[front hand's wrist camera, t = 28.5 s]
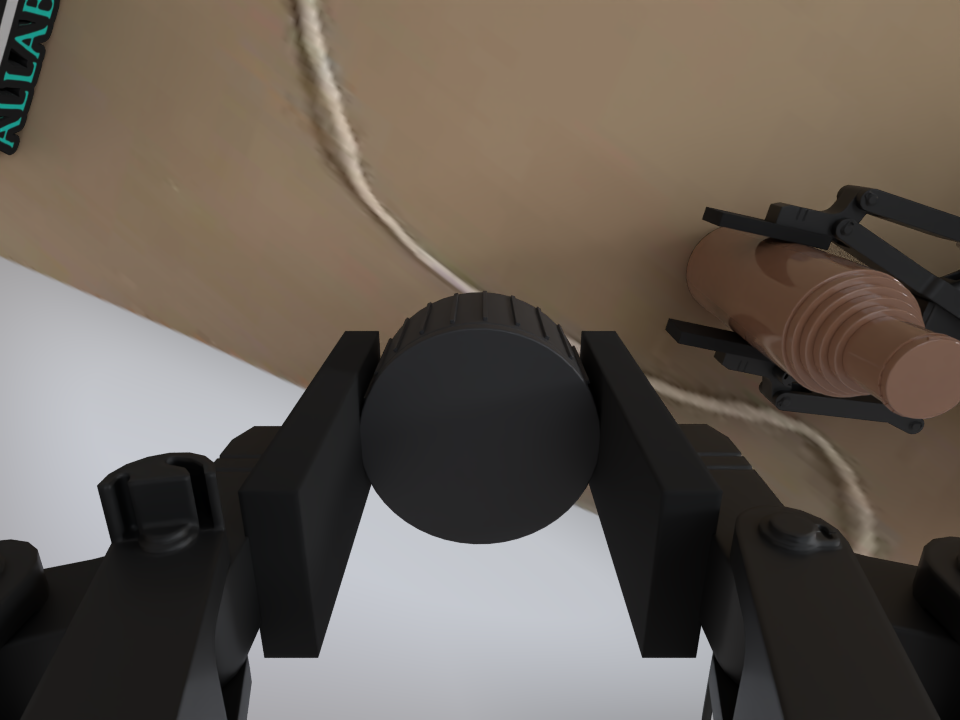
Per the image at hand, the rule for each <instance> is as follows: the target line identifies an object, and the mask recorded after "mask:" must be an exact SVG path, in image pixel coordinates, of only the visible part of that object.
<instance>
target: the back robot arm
mask: <svg viewBox="0 0 960 720" xmlns="http://www.w3.org/2000/svg"><path fill="white" fill-rule="evenodd" d="M866 214H869V215H872V216H875V217H878V218H881V219H884V220H887V221H890V222H893V223H896V224H899V225H902V226H905V227H908V228H911V229H914V230H917V231H920V232H923V233H926V234H929V235H932V236H935V237H939V238H943V239H947V240H951V241H955V242H957V244H956V245H957V247H958V248H960V217H958V216H955V215H952V214H949V213H946V212H943V211H940V210H937V209H934V208H931V207H928V206H925V205H922V204H919V203H916V202H913V201H911V200H908V199H905V198H902V197H899V196H896V195H893V194H890V193H887V192H884V191H881V190H878V189H872V188H867V187H860V186H852V185H847V186H844V187H842V188H841V189H840V190H839V192H838V194H837V200H836V202H835V203H834V204H833V205H832V206H831V207H830V208H829V209H827V210H824V211H816V210H811V209H807V208H802V207H798V206H794V205H789V204H785V203H774V204H771V205H770V207H769V210H768V213H767V216H766V218H765V220H763V219H759V218H754V217H750V216H745V215H741V214H736V213H732V212H727V211H723V210H718V209H714V208H709V207H706V209H705V212H704V215H703V218H702V219H703V220H705V221H708V222H710V223H712V224H715V225H717V226H721V227H726V228H730V229H735V230H739V231H744V232H748V233H753V234H757V235H762V236H766V237H771V238H775V239H780V240H784V241H789V242H793V243H798V244H802V245H807V246H811V247H816V248H820V249H825V250H828V248H829V245H830V243H831V242H833V243H834V244H836V245H837V246H839V247H840V248H842V249H843V250H845V251H846V252H848V253H849V254H851V255H852V256H854V257H855V258H857V259H858V260H860V261H861V262H863V263H864V264H866V265H867V266H868V267H870V268H872V269H875V270H878V271H881V272H883V273H886V274H888V275H890V276H892V277H894V278H896V279H897V280H898V281H899V282H901V283H902V284H903V285H904V286H905V288H907V289H908V290H909V291H910V292H911V294H912V295H913V296H914V297H915V299H916V301H917V302H918V305H919V307H920V310H921V315H922V319H923V322H924V325H925V328H927V329H929V330H931V331H933V332H936V333H941V334H946V335H948V336H950V337H953V338H955V339H957V340H959V341H960V270H958V271H956V272H953V273H950V274H948V275H945V276H943V277H940V278H939V277H937V276H935V275H933V274H932V273H930V272H929V271H927V270H926V269H924V268H923V267H921V266H920V265H918V264H917V263H916V262H914V261H913V260H911V259H910V258H908V257H907V256H905V255H904V254H903V253H901V252H900V251H898V250H897V249H895V248H894V247H892V246H891V245H889V244H888V243H887V242H885V241H884V240H882V239H881V238H879V237H878V236H876V235H875V234H874V233H872V232H871V231H869V230H868V229H866V228H865V227H863V226H862V225H860V224H859V222H860V221H861V220H862V218H863V217H864V216H865V215H866ZM665 330H666V331H667V332H668V333H669V334H670V335H671V336H672V337H673V338H674V339H675V340H676V341H677V343H680V344H684V345H689V346H694V347H699V348H704V349H709V350H714V351H716V353H715V355H714V357H715V358H716V359H717V360H718V361H719V362H720V363H721V364H722V365H723V366H725V367H726V368H728V369H730V370H735V371H740V372H745V373H750V374H755V375H760V376H762V382H761V383H760V385H759V390H760V392H761V393H762V394H763V395H764V396H765V397H766V398H767V399H768V400H769V401H770V402H771V403H773V404H774V405H775V406H776V407H777V408H778V409H780V410H783V411H792V412H801V413H809V414H818V415H827V416H835V417H844V418H853V419H861V420H870V421H879V422H888V423H889V424H891V425H893V426H895V427H897V428H899V429H901V430H903V431H905V432H907V433H909V434H916V433H918V432H920V431H921V430H922V429H923V427H924V421H923V419H914V418H909V417H902V416H900V415H898V414H896V413H893V412H892V411H890V410H889V409H888V408H887V407H886V406H885V405H884V404H883V403H882V402H881V401H880V400H878V399H877V398H875V397H874V396H872V395H861V396H854V397H832V396H828V395H824V394H821V393H817V392H814V391H811V390H809V389H807V388H805V387H803V386H802V385H801V384H799V383H798V382H797V381H795V380H794V379H793V378H792V377H790V376H789V375H788V374H787V373H785V372H784V371H783V370H782V369H780V368H779V367H778V366H777V365H775V364H774V363H773V362H772V361H770V360H769V359H768V358H767V357H765V356H764V355H763V354H762V353H760V352H759V351H758V350H756V349H755V348H754V347H753V346H751V345H750V344H749V343H748V342H746V341H745V340H744V339H743V338H741V337H740V336H739V335H738V334H736V333H735V332H732V331H727V330H722V329H718V328H713V327H708V326H703V325H698V324H693V323H689V322H684V321H679V320H674V319H669V320H668V323H667V326H666V329H665Z"/></svg>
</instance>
